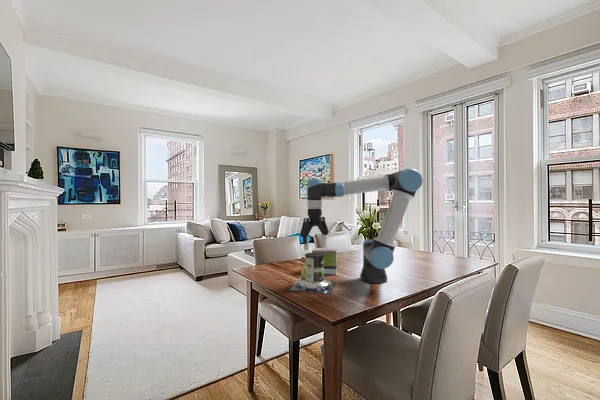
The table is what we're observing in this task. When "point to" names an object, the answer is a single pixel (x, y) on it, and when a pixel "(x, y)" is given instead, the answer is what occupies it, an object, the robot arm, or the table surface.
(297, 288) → the base plate
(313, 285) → the sprocket
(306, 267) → the coffee can
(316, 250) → the tea box
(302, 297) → the table surface
